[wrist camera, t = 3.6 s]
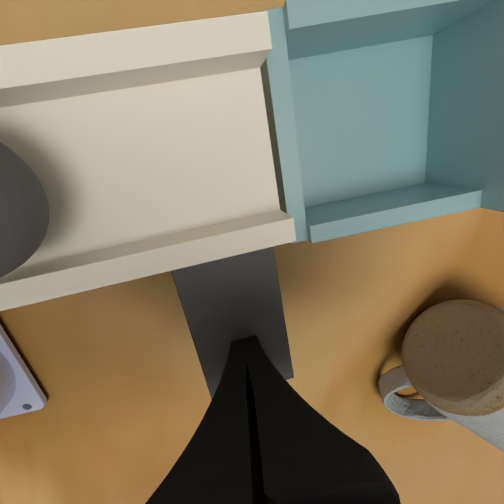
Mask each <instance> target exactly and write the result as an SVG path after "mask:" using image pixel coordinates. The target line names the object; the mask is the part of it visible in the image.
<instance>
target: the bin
mask: <svg viewBox="0 0 504 504" xmlns="http://www.w3.org/2000/svg"><path fill="white" fill-rule="evenodd" d="M264 11H268V19H269V27H270V35H271V43H272V50H271V51H270V53H269V55H268V56H267V58H266V59H265V61H264V62H263V64H262V65H261V67H260V71H261V78H262V85H263V92H264V99H265V106H266V113H267V120H268V127H269V134H270V141H271V148H272V155H273V163H274V170H275V177H276V184H277V191H278V198H279V205H280V210H281V211H283V212H285V213H286V214H288V215H290V216H291V217H293V218H294V226H295V234H296V241H294V242H290V243H291V244H292V243H297V242H302V241H306V240H308V241H310V242H311V243H316V242H321V241H325V240H330V239H335V238H339V237H344V236H349V235H353V234H358V233H363V232H368V231H372V230H377V229H382V228H386V227H391V226H396V225H400V224H405V223H410V222H414V221H419V220H424V219H428V218H433V217H438V216H442V215H447V214H452V213H457V212H461V211H466V210H471V209H475V208H485V209H491V210H496V211H501V212H504V0H286V1H285V3H284V6H283V7H282V8H276V9H270V10H264ZM260 12H263V11H260Z"/></svg>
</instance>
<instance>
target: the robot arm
mask: <svg viewBox="0 0 504 504" xmlns="http://www.w3.org/2000/svg"><path fill="white" fill-rule="evenodd" d="M46 403H47V398H46V397H45V395H44V394H43V392H42V390H41V389H40V387H39V385H38V384H37V382H36V381H35V379H34V377H33V376H32V374H31V373H30V371H29V369H28V368H27V366H26V365H25V363H24V361H23V360H22V358H21V357H20V355H19V353H18V352H17V350H16V349H15V347H14V345H13V344H12V342H11V341H10V339H9V337H8V336H7V334H6V333H5V331H4V329H3V328H2V326H1V324H0V419H2V418H6V417H11V416H15V415H19V414H23V413H28V412H32V411H36V410H40V409H42V408H43V407H44V406H45V404H46ZM145 504H401V503H400V498H399V495H398V493H397V491H396V489H395V487H394V485H393V484H392V482H391V481H390V479H389V477H388V476H387V474H386V473H385V471H384V470H383V469H382V467H381V466H380V465H379V463H378V462H377V461H376V459H375V458H374V457H373V455H372V454H371V453H370V452H369V450H367V449H366V448H364V447H363V446H361V445H360V444H358V443H357V442H356V441H354V440H353V439H351V438H350V437H348V436H347V435H346V434H344V433H343V432H341V431H340V430H339V429H338V428H336V427H335V426H334V425H332V424H331V423H330V422H329V421H327V420H326V419H325V418H324V417H323V416H322V415H320V414H319V413H318V412H317V411H316V410H314V409H313V408H312V407H311V406H310V405H309V404H308V403H307V402H306V401H305V400H304V399H303V398H302V397H301V396H300V395H299V394H298V393H297V392H296V391H295V390H294V389H293V388H292V387H291V386H290V385H289V383H288V382H287V381H286V380H285V379H284V378H283V376H282V375H281V374H280V373H279V371H278V370H277V369H276V367H275V366H274V365H273V363H272V362H271V360H270V359H269V357H268V356H267V354H266V353H265V351H264V349H263V347H262V345H261V343H260V341H259V338H258V337H257V336H256V335H254V336H250V337H246V338H242V339H238V340H234V341H232V342H231V343H230V348H229V353H228V357H227V360H226V364H225V367H224V370H223V373H222V376H221V379H220V381H219V384H218V386H217V389H216V391H215V394H214V396H213V398H212V401H211V403H210V405H209V407H208V409H207V411H206V413H205V415H204V417H203V419H202V421H201V423H200V425H199V426H198V428H197V430H196V432H195V433H194V435H193V437H192V439H191V440H190V442H189V443H188V445H187V447H186V448H185V450H184V451H183V453H182V454H181V456H180V457H179V459H178V460H177V462H176V463H175V465H174V466H173V468H172V469H171V471H170V472H169V473H168V475H167V476H166V478H165V479H164V480H163V481H162V483H161V484H160V485H159V487H158V488H157V489H156V491H155V492H154V493H153V494H152V496H151V497H150V498H149V500H148V501H147V502H146V503H145Z"/></svg>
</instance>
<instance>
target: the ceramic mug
mask: <svg viewBox="0 0 504 504" xmlns="http://www.w3.org/2000/svg"><path fill="white" fill-rule="evenodd" d="M402 362H403V365H402V366H397V367H395V368H392V369H390V370H389V371H388V372H386V373H385V374H384V375H382V376H381V378H380V379H379V383H378V384H379V390H380V394H381V399H382V402H383V404H384V406H385V407H386V408H387V409H388V410H389V411H391V412H392V413H394V414H396V415H398V416H402V417H405V418H409V419H413V420H421V421H449V420H452V421H454V422H456V423H458V424H460V425H462V426H464V427H465V428H467V429H469V430H470V431H472V432H473V433H475V434H476V435H478V436H479V437H481V438H482V439H484V440H486V441H487V442H489V443H490V444H492V445H494V446H495V447H497V448H499V449H500V450H502V451H504V309H501V308H499V307H497V306H495V305H492V304H489V303H486V302H481V301H477V300H470V299H457V300H449V301H445V302H441V303H439V304H436V305H434V306H432V307H430V308H428V309H427V310H425V311H424V312H422V313H421V314H420V315H419V316H418V317H417V318H416V319H415V320H414V321H413V322H412V324H411V325H410V327H409V329H408V331H407V333H406V335H405V337H404V341H403V345H402ZM410 386H413V387H414V388H415V389H416V390H417V392H418V393H419V394H420V395H421V396H422V397H423V398H424V399H406V398H402V397H399V396H398V395H396V394H395V393H394V392H397V391H399V390H401V389H405V388H407V387H410Z"/></svg>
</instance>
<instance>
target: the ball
mask: <svg viewBox="0 0 504 504" xmlns="http://www.w3.org/2000/svg"><path fill="white" fill-rule="evenodd" d="M48 225H49V204H48V199H47V196H46V193H45V190H44V188H43V186H42V184H41V182H40V180H39V179H38V177H37V176H36V174H35V173H34V172H33V170H32V169H31V168H30V167H29V166H28V165H27V164H26V163H25V161H24V160H23V159H22V158H20V157H19V156H18V155H17V154H16V153H15V152H13V151H12V150H11V149H10V148H8V147H7V146H5V145H4V144H2V143H1V142H0V278H1V277H3V276H5V275H7V274H8V273H10V272H12V271H14V270H15V269H17V268H18V267H19V266H21V265H22V264H24V263H25V262H26V261H27V260H28V259H29V258H30V257H31V256H32V255H33V254H34V253H35V252H36V250H37V249H38V248H39V246H40V245H41V243H42V241H43V239H44V237H45V235H46V232H47V229H48Z"/></svg>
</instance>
